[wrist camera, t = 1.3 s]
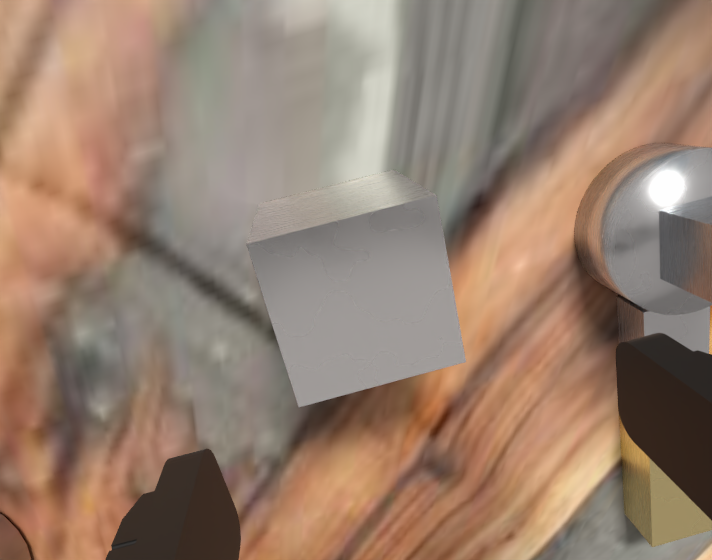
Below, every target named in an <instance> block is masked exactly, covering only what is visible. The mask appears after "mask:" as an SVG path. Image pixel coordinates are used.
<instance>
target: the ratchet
mask: <svg viewBox="0 0 712 560" xmlns="http://www.w3.org/2000/svg"><path fill="white" fill-rule="evenodd" d="M574 240H575V247H576V251H577V254H578V258H579V260H580V262H581V264H582V266H583V267H584V269H585V270H586V272H587V273H588V274H589V275H590V276H591V277H592V278H593V279H595V280H596V281H597V282H598V283H600V284H602V285H604V286H606V287H607V288H609V289H611V290H613V291H614V292H616V293H618V294H620V295H621V296H619V297H617V312H618V332H619V343H621V342H624V341H628V340H632V339H636V338H640V337H644V336H647V335H651V334H655V333H664V334H666V335H668V336H669V337H671V338H672V339H674V340H676V341H677V342H679V343H680V344H682V345H684V346H685V347H687V348H688V349H690V350H692V351H697V350H698V351H702V352H705V353H708V354H709V328H710V306H711V305H712V148H709V147H699V146H689V145H678V144H668V143H653V144H648V145H643V146H640V147H637V148H634V149H632V150H629V151H627V152H625V153H623V154H622V155H620V156H619V157H617V158H615V159H614V160H613V161H612V162H610V163H609V164H608V165H607V166H606V167H605V168H604V169H603V170H602V171H601V172H600V173H599V174H598V175H597V176H596V177H595V179H594V180H593V181H592V182H591V184H590V186H589V187H588V189H587V190H586V192H585V194H584V196H583V198H582V200H581V203H580V205H579V208H578V211H577V215H576V220H575V228H574ZM619 420H620V438H621V456H622V474H623V492H624V511H625V515H626V516H627V517H628V518H629V519H630V521H631V522H632V523H633V524H634V525H635V527H636V528H637V529H638V530H639V532H640V533H641V534H642V535H643V536H644V538H645V539H646V540H647V541H648V543H649V544H650V545H651V546H652V547H655V546H658V545H661V544H665V543H668V542H672V541H675V540H679V539H682V538H686V537H689V536H692V535H696V534H699V533H703V532H706V531H710V530H712V520H711V519H710V518H709V517H708V516H707V515H706V514H705V513H704V512H703V511H702V510H701V509H700V508H699V507H698V506H697V505H696V504H695V503H694V502H693V501H692V500H691V499H690V498H689V497H688V496H687V495H686V494H685V493H684V492H683V491H682V490H681V489H680V488H679V487H678V486H677V485H676V484H675V483H674V482H673V481H672V480H671V479H670V478H669V477H668V476H667V475H666V474H665V473H664V472H663V471H662V470H661V469H660V468H659V467H658V466H657V465H656V464H655V463H654V462H653V461H652V460H651V459H650V458H649V457H648V456H647V455H646V454H645V453H644V452H643V451H642V450H641V449H640V448H639V447H638V446H637V445H636V444H635V443H634V442H633V441H632V439H631V438H630V437H629V435H628V434H627V432H626V430H625V428H624V426H623V424H622V421H621V418H620V415H619Z"/></svg>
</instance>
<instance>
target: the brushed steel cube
mask: <svg viewBox="0 0 712 560" xmlns="http://www.w3.org/2000/svg"><path fill="white" fill-rule="evenodd" d="M247 248H248V251H249V254H250V257H251V260H252V263H253V266H254V269H255V272H256V276H257V279H258V282H259V285H260V288H261V291H262V294H263V297H264V301H265V304H266V307H267V310H268V313H269V316H270V319H271V322H272V325H273V329H274V332H275V335H276V338H277V341H278V344H279V347H280V350H281V354H282V357H283V360H284V363H285V366H286V369H287V372H288V375H289V378H290V382H291V385H292V388H293V391H294V394H295V397H296V400H297V403H298V406H299V407H302V406H306V405H310V404H313V403H317V402H321V401H324V400H328V399H332V398H335V397H339V396H343V395H346V394H350V393H354V392H357V391H361V390H365V389H368V388H372V387H376V386H379V385H383V384H387V383H390V382H394V381H398V380H401V379H405V378H409V377H413V376H416V375H420V374H424V373H427V372H431V371H435V370H438V369H442V368H446V367H449V366H453V365H457V364H460V363H464V362H466V360H465V354H464V348H463V343H462V337H461V331H460V325H459V320H458V314H457V308H456V303H455V297H454V291H453V286H452V280H451V274H450V268H449V263H448V257H447V251H446V246H445V240H444V234H443V228H442V223H441V217H440V211H439V206H438V200H437V195H436V194H434V193H432V192H431V191H429V190H427V189H426V188H424V187H422V186H421V185H419V184H417V183H416V182H414V181H412V180H411V179H409V178H407V177H406V176H404V175H402V174H401V173H399V172H397V171H396V170H394V169H393V170H389V171H385V172H381V173H377V174H373V175H369V176H365V177H361V178H357V179H353V180H349V181H345V182H341V183H338V184H334V185H330V186H326V187H322V188H318V189H314V190H310V191H306V192H302V193H298V194H294V195H290V196H286V197H282V198H279V199H275V200H271V201H267V202H263V203H259V206H258V209H257V212H256V215H255V218H254V222H253V225H252V228H251V231H250V234H249V237H248V241H247Z"/></svg>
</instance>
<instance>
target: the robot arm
mask: <svg viewBox="0 0 712 560" xmlns="http://www.w3.org/2000/svg"><path fill="white" fill-rule="evenodd" d="M616 370H617V391H618V409H619V415H620V418H621V421H622V424H623V426H624V428H625V430H626V432H627V434H628V435H629V437H630V438H631V439H632V441H633V442H634V443H635V444H636V445H637V446H638V447H639V448H640V449H641V450H642V451H643V452H644V453H645V454H646V455H647V456H648V457H649V458H650V459H651V460H652V461H653V462H654V463H655V464H656V465H657V466H658V467H659V468H660V469H661V470H662V471H663V472H664V473H665V474H666V475H667V476H668V477H669V478H670V479H671V480H672V481H673V482H674V483H675V484H676V485H677V486H678V487H679V488H680V489H681V490H682V491H683V492H684V493H685V494H686V495H687V496H688V497H689V498H690V499H691V500H692V501H693V502H694V503H695V504H696V505H697V506H698V507H699V508H700V509H701V510H702V511H703V512H704V513H705V514H706V515H707V516H708V517H709V518H710V519H711V520H712V355H711V354H708V353H705V352H702V351H698V350H697V351H692V350H690V349H688V348H687V347H685V346H684V345H682V344H680V343H679V342H677V341H676V340H674V339H672V338H671V337H669V336H668V335H666V334H664V333H655V334H651V335H647V336H644V337H640V338H636V339H632V340H628V341H624V342H621V343H619V344H618V346H617V348H616ZM240 541H241V536H240V524H239V519H238V514H237V511H236V508H235V505H234V503H233V501H232V498H231V496H230V493H229V491H228V488H227V486H226V483H225V481H224V478H223V476H222V473H221V471H220V468H219V466H218V463H217V461H216V458H215V456H214V454H213V453H212V451H211V450H209V449H205V450H201V451H197V452H193V453H189V454H185V455H182V456H178V457H174V458H170V459H168V460H167V461H166V463H165V465H164V467H163V470H162V473H161V475H160V478H159V481H158V484H157V486H156V489H155V491H153V492H150V493H146V494H143V495H142V496H141V497H140V498H139V500H138V501H137V502H136V503H135V505H134V506H133V507H132V508H131V509H130V511H129V512H128V513H127V514H126V516H125V517H124V518H123V519H122V522H121V524H120V526H119V529H118V531H117V534H116V536H115V538H114V541H113V543H112V545H111V546H112V551H109V553H108V555H107V557H106V560H238V559H239V551H240ZM0 560H31V557H30V554H29V550H28V547H27V544H26V543H25V541H24V539H23V538H22V536H21V534H20V533H19V531H18V530H17V529H16V528H15V527H14V526H13V525H12V524H11V523H10V521H9V520H8V519H7V518H6V517H5V516H3V515H2V514H0Z"/></svg>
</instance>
